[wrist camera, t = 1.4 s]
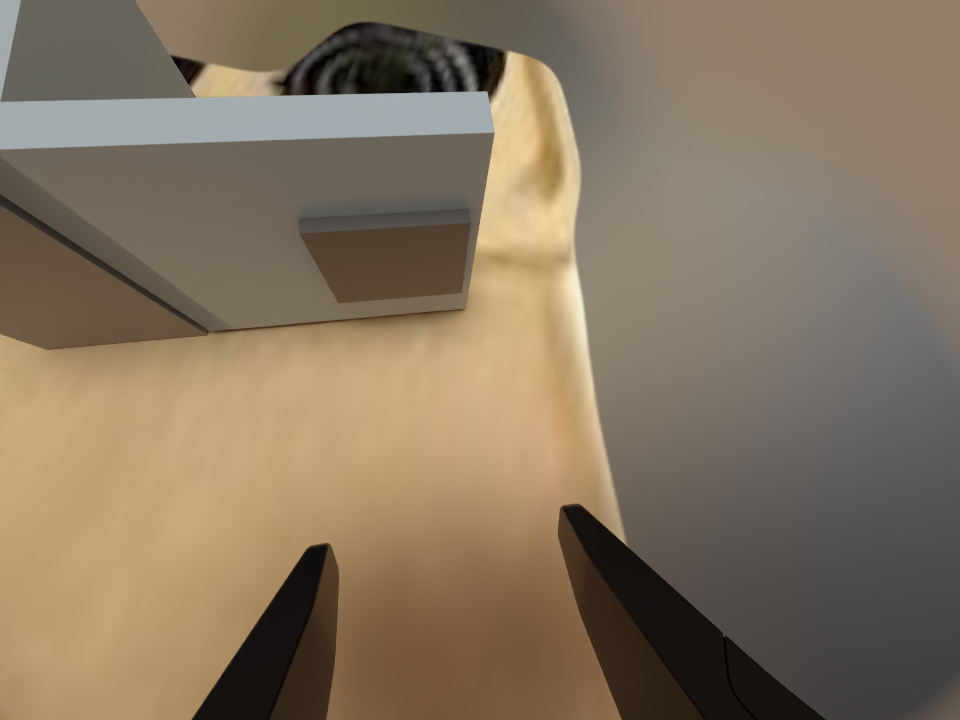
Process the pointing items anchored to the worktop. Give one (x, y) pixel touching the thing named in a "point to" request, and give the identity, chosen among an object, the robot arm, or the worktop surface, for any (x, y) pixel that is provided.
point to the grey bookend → (237, 176)
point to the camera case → (73, 292)
